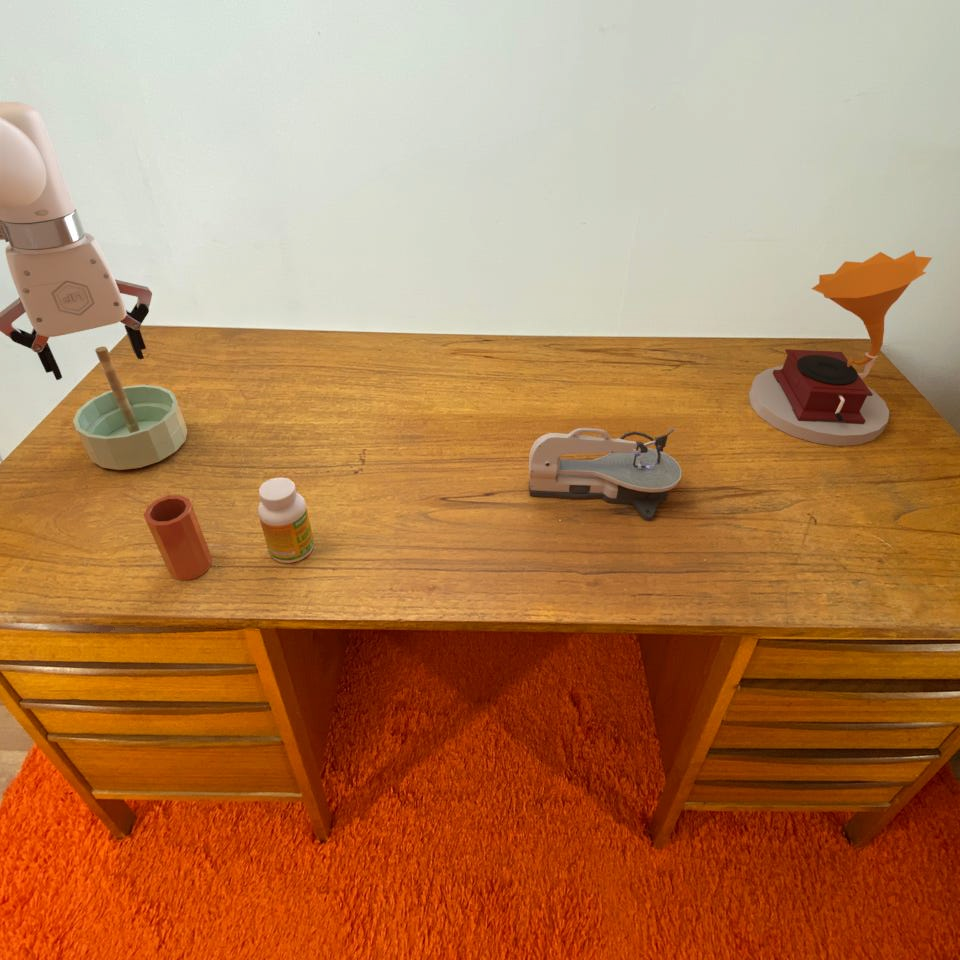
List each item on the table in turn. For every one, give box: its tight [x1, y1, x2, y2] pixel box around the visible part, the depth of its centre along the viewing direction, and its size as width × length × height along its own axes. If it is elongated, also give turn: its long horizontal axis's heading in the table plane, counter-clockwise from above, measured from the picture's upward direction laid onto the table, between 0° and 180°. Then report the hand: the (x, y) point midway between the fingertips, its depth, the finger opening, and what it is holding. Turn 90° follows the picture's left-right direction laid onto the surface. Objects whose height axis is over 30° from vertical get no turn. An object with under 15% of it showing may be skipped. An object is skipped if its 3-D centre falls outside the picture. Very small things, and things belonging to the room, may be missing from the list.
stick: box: [94, 346, 140, 433], centre depth 88 cm, size 1×1×15 cm
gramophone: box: [748, 250, 933, 447], centre depth 95 cm, size 20×20×25 cm
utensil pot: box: [143, 494, 213, 581], centre depth 73 cm, size 5×5×9 cm
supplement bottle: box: [257, 477, 315, 564], centre depth 75 cm, size 5×5×10 cm
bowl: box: [72, 384, 189, 471], centre depth 91 cm, size 13×13×6 cm
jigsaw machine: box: [528, 427, 683, 522], centre depth 84 cm, size 20×11×12 cm
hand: (99, 364), depth 83 cm, fingers open, 9 cm apart
